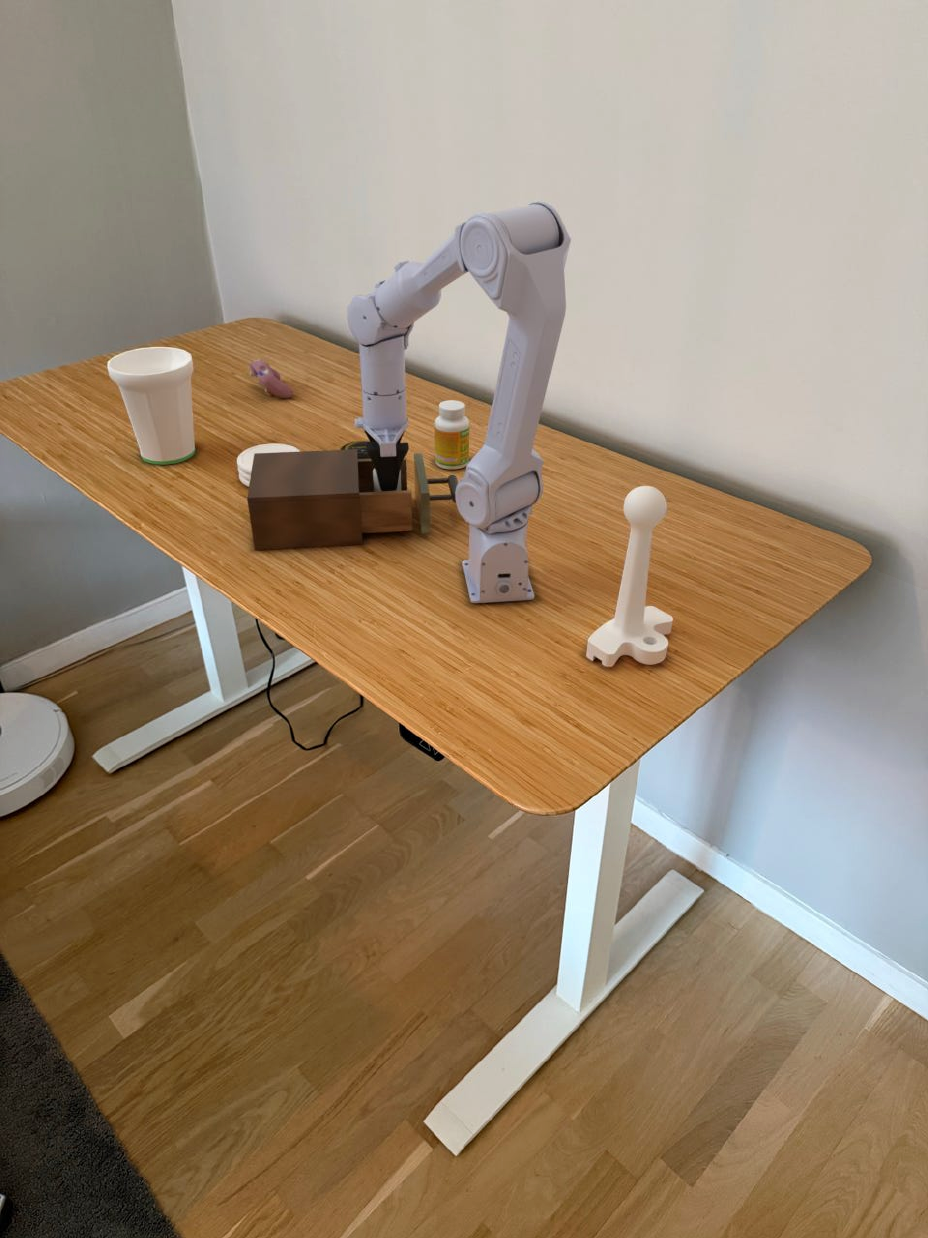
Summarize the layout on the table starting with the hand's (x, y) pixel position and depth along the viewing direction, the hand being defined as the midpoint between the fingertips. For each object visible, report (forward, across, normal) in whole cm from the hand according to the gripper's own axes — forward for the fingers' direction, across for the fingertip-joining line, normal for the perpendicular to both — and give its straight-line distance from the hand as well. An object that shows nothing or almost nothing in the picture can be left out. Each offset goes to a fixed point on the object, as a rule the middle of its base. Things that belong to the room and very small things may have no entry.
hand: (387, 482), depth 123 cm
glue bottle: (+1, 0, 0) cm, 1 cm away
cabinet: (+6, 0, -11) cm, 13 cm away
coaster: (+6, -15, -17) cm, 24 cm away
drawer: (+5, 0, +1) cm, 5 cm away
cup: (+6, -25, -34) cm, 43 cm away
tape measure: (+6, -15, -3) cm, 16 cm away
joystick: (+6, +33, +27) cm, 43 cm away
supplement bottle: (+6, -17, +11) cm, 21 cm away
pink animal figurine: (+6, -50, -19) cm, 54 cm away
